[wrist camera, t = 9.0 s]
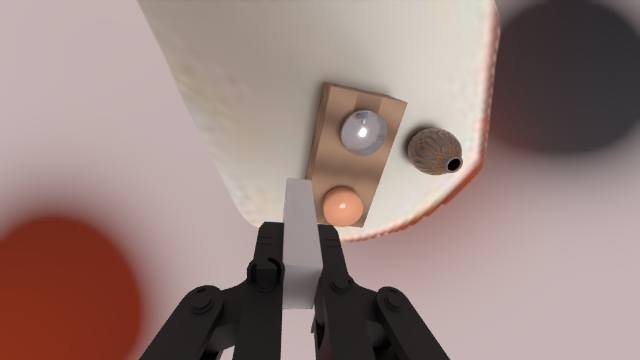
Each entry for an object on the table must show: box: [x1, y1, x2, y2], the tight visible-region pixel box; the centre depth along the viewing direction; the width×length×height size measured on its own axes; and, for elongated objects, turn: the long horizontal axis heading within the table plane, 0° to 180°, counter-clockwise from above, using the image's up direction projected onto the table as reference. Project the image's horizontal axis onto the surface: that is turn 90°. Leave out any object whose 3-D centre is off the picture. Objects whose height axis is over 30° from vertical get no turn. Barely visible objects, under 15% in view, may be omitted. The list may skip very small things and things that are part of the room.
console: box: [305, 82, 407, 227], centre depth 35 cm, size 20×10×6 cm, turn 168°
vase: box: [408, 128, 463, 175], centre depth 35 cm, size 7×7×9 cm
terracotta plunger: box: [322, 187, 363, 227], centre depth 35 cm, size 6×6×6 cm
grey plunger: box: [339, 109, 387, 156], centre depth 31 cm, size 6×6×6 cm
